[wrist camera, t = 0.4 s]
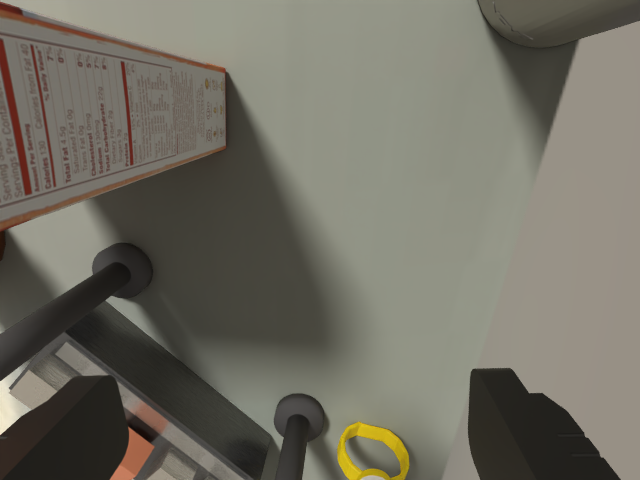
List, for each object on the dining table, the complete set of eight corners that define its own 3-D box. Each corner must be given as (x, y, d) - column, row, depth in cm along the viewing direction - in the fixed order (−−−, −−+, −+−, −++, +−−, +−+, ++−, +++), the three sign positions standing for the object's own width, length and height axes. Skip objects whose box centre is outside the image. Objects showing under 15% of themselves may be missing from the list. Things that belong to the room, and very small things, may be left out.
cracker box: (48, 141, 29) (-573, 206, 10) (35, 53, 27) (-778, -89, 8) (230, 155, 29) (-41, 259, 9) (229, 67, 27) (-119, -53, 7)
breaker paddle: (126, 425, 30) (105, 453, 28) (154, 446, 31) (136, 476, 28) (109, 439, 31) (88, 467, 29) (137, 459, 32) (117, 488, 30)
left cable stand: (120, 232, 31) (-155, 378, 14) (163, 268, 32) (-51, 448, 15) (91, 267, 33) (-194, 439, 16) (133, 301, 33) (-96, 501, 16)
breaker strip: (101, 297, 33) (39, 343, 27) (271, 435, 37) (253, 507, 30) (54, 351, 36) (-14, 406, 29) (218, 476, 39) (191, 551, 32)
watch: (338, 432, 37) (330, 489, 31) (345, 409, 36) (338, 464, 30) (400, 451, 36) (404, 512, 30) (409, 428, 35) (414, 488, 30)
